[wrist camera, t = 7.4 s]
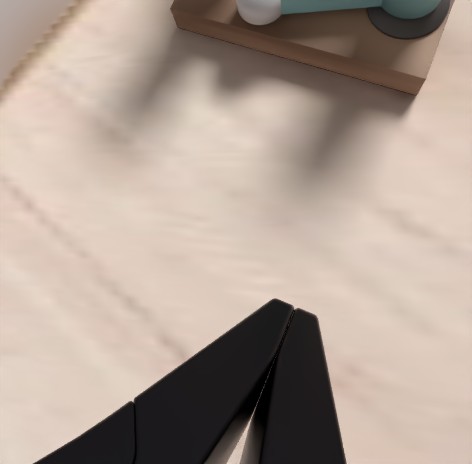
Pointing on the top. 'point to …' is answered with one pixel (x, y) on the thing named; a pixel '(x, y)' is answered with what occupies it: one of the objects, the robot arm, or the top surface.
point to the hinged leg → (328, 8)
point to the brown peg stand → (331, 38)
